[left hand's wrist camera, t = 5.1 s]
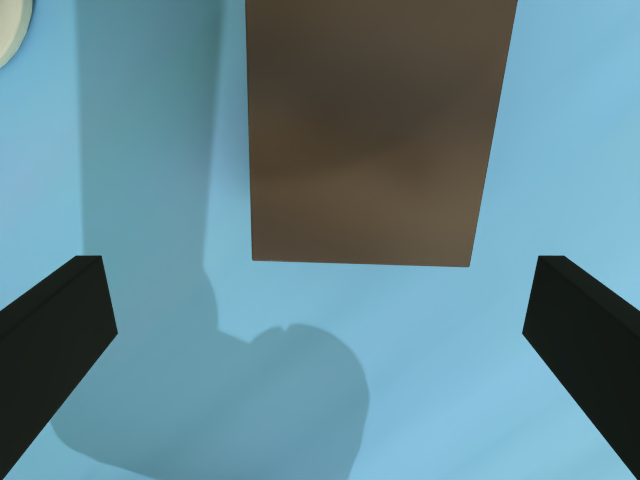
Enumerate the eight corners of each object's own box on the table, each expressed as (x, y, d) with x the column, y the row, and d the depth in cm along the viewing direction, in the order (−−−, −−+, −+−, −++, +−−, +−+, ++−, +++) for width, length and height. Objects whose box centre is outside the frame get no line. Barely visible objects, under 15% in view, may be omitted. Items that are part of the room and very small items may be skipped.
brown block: (267, -82, 23) (240, -169, 15) (467, -73, 23) (546, -154, 15) (270, 211, 29) (251, 261, 21) (428, 216, 29) (469, 268, 21)
